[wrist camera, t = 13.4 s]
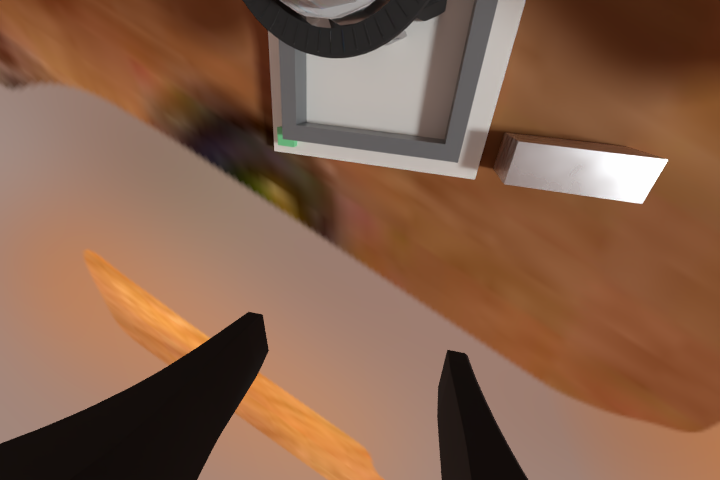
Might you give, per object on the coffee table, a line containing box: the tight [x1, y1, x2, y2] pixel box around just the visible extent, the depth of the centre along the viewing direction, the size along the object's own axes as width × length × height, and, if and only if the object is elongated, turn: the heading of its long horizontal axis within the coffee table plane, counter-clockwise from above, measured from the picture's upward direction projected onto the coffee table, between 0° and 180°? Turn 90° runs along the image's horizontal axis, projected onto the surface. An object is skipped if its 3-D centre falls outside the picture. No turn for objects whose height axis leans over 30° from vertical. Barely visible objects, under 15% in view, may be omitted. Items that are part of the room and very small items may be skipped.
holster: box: [493, 132, 668, 204], centre depth 12 cm, size 6×13×3 cm, turn 175°
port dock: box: [268, 0, 526, 179], centre depth 14 cm, size 12×14×2 cm
